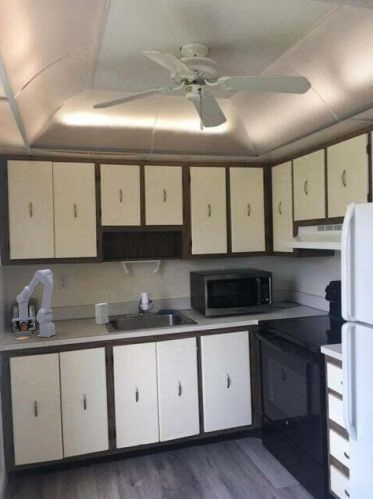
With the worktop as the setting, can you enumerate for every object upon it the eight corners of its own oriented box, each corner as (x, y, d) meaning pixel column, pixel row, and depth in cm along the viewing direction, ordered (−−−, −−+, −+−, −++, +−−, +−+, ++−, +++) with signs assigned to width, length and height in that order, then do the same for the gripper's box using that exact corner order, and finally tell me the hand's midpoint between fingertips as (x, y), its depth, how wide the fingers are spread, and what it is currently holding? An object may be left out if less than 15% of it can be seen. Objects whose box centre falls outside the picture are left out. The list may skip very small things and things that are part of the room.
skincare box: (101, 324, 298) (100, 304, 297) (95, 324, 301) (94, 304, 301) (109, 322, 305) (108, 302, 304) (103, 321, 308) (102, 302, 308)
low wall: (31, 334, 274) (31, 330, 273) (31, 335, 273) (31, 330, 272) (15, 336, 270) (15, 331, 270) (15, 336, 270) (15, 332, 269)
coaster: (32, 337, 268) (31, 336, 268) (23, 340, 260) (23, 339, 260) (22, 336, 270) (22, 335, 270) (13, 339, 262) (13, 338, 262)
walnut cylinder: (29, 332, 280) (29, 324, 279) (24, 334, 275) (24, 325, 275) (23, 332, 281) (23, 323, 281) (18, 334, 276) (18, 325, 276)
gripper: (34, 309, 283) (35, 329, 284) (12, 311, 279) (13, 331, 279) (34, 311, 277) (35, 331, 277) (11, 313, 272) (12, 333, 273)
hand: (24, 331), depth 278 cm, fingers open, 5 cm apart
